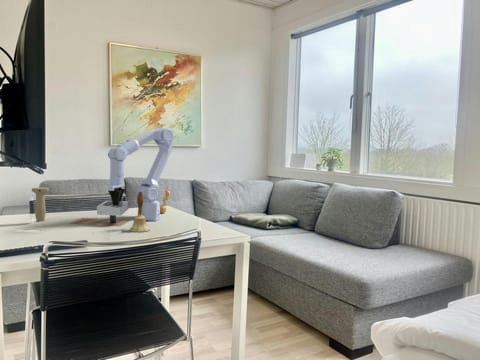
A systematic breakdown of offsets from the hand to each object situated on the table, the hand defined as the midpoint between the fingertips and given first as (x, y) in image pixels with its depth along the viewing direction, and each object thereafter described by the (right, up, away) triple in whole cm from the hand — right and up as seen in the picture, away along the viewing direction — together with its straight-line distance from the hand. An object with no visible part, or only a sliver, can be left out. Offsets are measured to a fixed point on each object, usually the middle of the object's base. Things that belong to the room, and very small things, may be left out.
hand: (116, 205), depth 176 cm
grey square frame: (0, -3, -4) cm, 4 cm away
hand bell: (+13, -10, -11) cm, 20 cm away
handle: (-31, -7, -6) cm, 32 cm away
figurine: (+15, -6, +30) cm, 34 cm away
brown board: (-6, -8, -3) cm, 11 cm away
